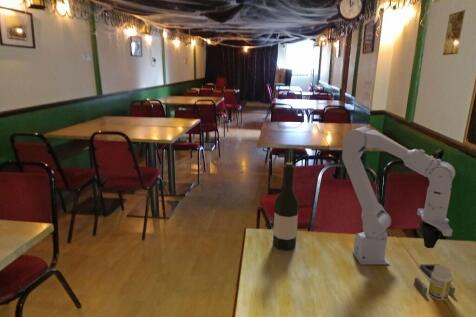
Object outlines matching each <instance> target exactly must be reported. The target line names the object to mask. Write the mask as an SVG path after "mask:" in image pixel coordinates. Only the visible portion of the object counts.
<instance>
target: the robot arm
mask: <svg viewBox="0 0 476 317" xmlns="http://www.w3.org/2000/svg"><path fill="white" fill-rule="evenodd" d="M342 145H343V146H342V147H343V148H342V154H341V159H342V162H343V165H344V168H346V173H347V174H348V177H349V179H350V182H351V184H352V187H353V189H354V193H355V194H356V196H357V199H358V201H359V204H360V207H361V209H362V210H361V215H360V216H361V219H362V230H363V231H362V232H358V233H356V234H355V236H354V243H353V250H352V253H353V255H354V257H355V258H356V260H357V261H358V263H359V264H360V265H390V262H389V261H388V259H387V258H386V257H385V256H386V250H387V243H388V236H389V233H388V231H387V229H388V228H390V226H391V224H392V219H391V216H390V215H389V214H388V212H386V210H385V209H384V206H383V205H382V204H381V203H379V201H378V199H377V196H376V194H375V192H374V189H373V186H372V184H371V182H370V179H369V176H368V174H367V172H366V170H365V166H364V164H363V162H362V158H361V157H362V155H363V154H364V152H365V149H371V148H372V149H373V148H378V149H381V150H382V151H385V152H386V153H388V154H390V155H393V156H395V157H397V158H399V159H401V160H402V161H403V163H404V166H405V167H407V168H409V169H410V170H412V171H414V172H415V173H418V174H419V175H422V176H423V177H426V178H427V179H428V181H429V185H428V187H427V190H426V198H425V203H424V208H417V212H416V215H418V216H420V217H421V219H422V221H420V222H419V226H420V229H421V231H422V236H423V246H424V247H425V248H426V249H434V248H435V246H436V244H437V242H438V241H439V239H440V238H441V236H444V237H452V235H453V229H452V228H451V227H450V225H449V221H450V219H448V217H447V213H448V210H449V205H450V199H451V192H452V190H451V189H452V187H453V186H452V182H453V180H454V178H455V176H456V169H455V168H454V166H453V165H452V164H451V163H449V162H447V161H442V159H440V158H435V157H433V156H431V155H429V154H427V153H425V152H426V151H425V150H424V149H417V148H414V149H413V148H412V149H408V148H406V147H405V146H403V145H401V144H399V143H398V142H397V141H395V140H393V139H391V138H389V136H388V137H387V135H384V134H383V133H381V132H379V131H378V130H376V129H372V128H370V127H369V126H360V127H358V128H355V129H350V130H349V131H348V132H346V134H345V135H344V137H343V139H342Z"/></svg>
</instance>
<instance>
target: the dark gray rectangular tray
mask: <svg viewBox="0 0 476 317" xmlns="http://www.w3.org/2000/svg"><path fill="white" fill-rule="evenodd" d="M435 265H440V264H431V263H429V264H427V263H426V264H424V263H422V264H420V265H419V269H420V270H421V271H423V273H424V274H425V275H426V276H427V277H429V278H430V280H431V274H432V272H434V267H435ZM450 277H451V278H452V275H450ZM429 278H428V279H429Z"/></svg>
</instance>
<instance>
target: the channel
mask: <svg viewBox="0 0 476 317" xmlns="http://www.w3.org/2000/svg"><path fill="white" fill-rule="evenodd" d="M413 285H414V287H415V288H416V289H417V290H418V291H419V293H420V294H421V295H422V296H424V297H425V296H427V293H428V290H429V287H427V285H425V283H424V282H423V281H422V280H421V279H420V278H419V277H414V282H413ZM455 292H456V287H455V286H454V285H453V284H452V283H451V284H450V290H449V295H450V296H452V297H453V296H455Z"/></svg>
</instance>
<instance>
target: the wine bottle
mask: <svg viewBox="0 0 476 317" xmlns="http://www.w3.org/2000/svg"><path fill="white" fill-rule="evenodd" d="M294 172H295V165H294V163H292V162H285V164H284V166H283V178H282V180H283V181H282V189H281V191H280V193H279V194H278V196H277V197H276V199H275V200H274V213H273V214H274V217H273V218H274V219H273V232H272V233H273V236H272V247H274V248H276V249H277V250H279V251H286V252H287V251H292V250H295V249H296V245H297V236H298V235H297V233H298V217H299V204H300V202H299V201H300V200H299V198H298V196H297V195H296V193H295V191H294V190H293V188H294V185H293V184H294Z"/></svg>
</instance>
